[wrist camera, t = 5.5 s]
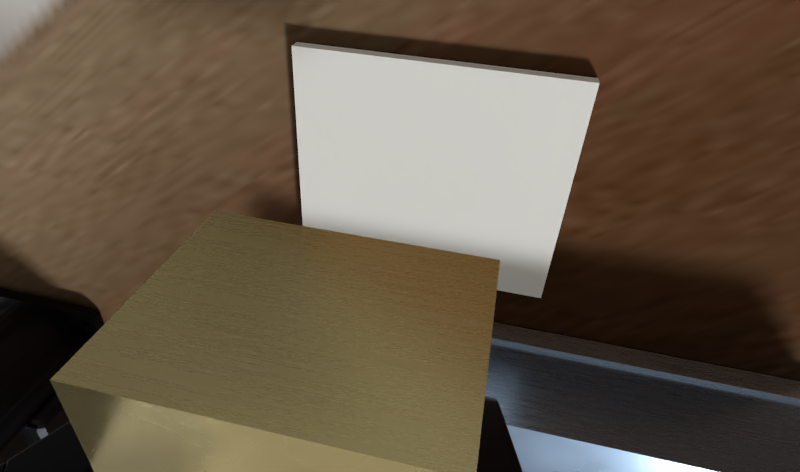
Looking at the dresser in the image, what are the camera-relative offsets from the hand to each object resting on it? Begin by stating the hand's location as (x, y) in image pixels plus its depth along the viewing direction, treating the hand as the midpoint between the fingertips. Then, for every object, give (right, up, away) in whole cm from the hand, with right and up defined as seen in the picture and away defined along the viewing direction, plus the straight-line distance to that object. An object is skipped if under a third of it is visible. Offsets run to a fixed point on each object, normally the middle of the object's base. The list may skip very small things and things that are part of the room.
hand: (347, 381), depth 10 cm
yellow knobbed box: (0, 0, 0) cm, 0 cm away
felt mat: (+2, +4, +6) cm, 8 cm away
